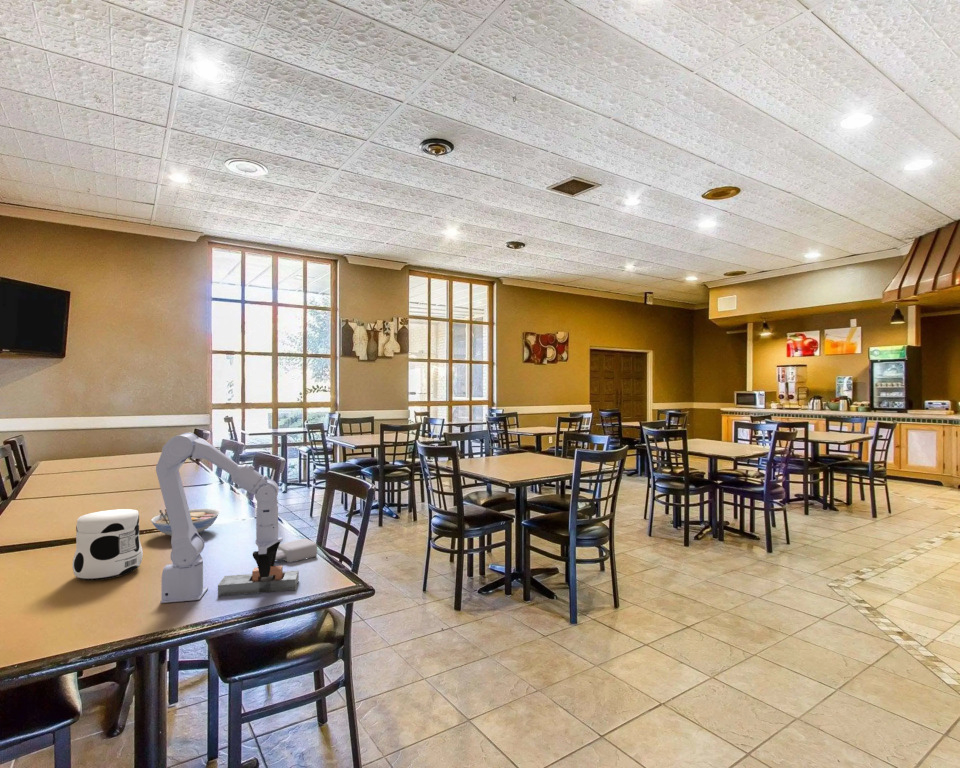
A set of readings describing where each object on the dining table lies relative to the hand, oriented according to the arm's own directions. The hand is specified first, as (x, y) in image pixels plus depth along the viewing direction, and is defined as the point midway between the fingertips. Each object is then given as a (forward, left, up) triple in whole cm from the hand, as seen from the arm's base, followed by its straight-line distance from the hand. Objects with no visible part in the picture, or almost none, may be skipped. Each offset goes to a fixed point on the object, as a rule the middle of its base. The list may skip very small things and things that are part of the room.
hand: (267, 571), depth 147 cm
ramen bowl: (-40, +62, -5) cm, 74 cm away
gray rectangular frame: (-2, 0, -4) cm, 5 cm away
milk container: (-49, +22, -5) cm, 54 cm away
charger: (+2, +24, -5) cm, 25 cm away
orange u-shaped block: (0, 0, -4) cm, 5 cm away
